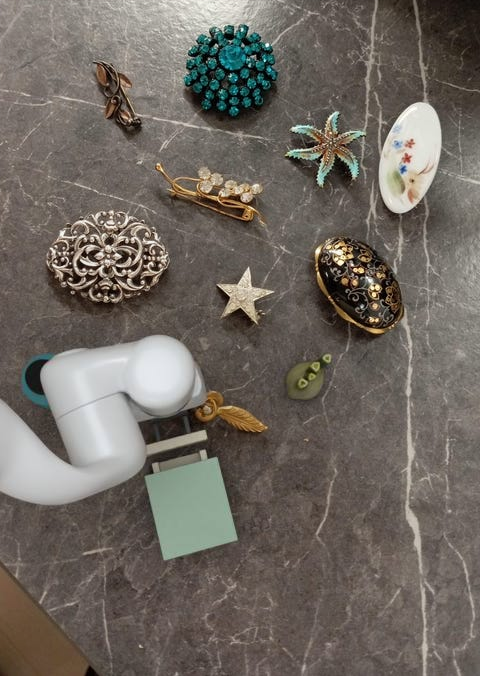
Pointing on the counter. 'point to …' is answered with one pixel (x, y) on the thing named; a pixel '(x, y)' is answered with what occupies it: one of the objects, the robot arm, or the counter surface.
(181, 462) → the drawer
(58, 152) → the counter surface
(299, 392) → the fennel bulb
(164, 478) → the green drawer cabinet
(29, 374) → the beverage bottle
